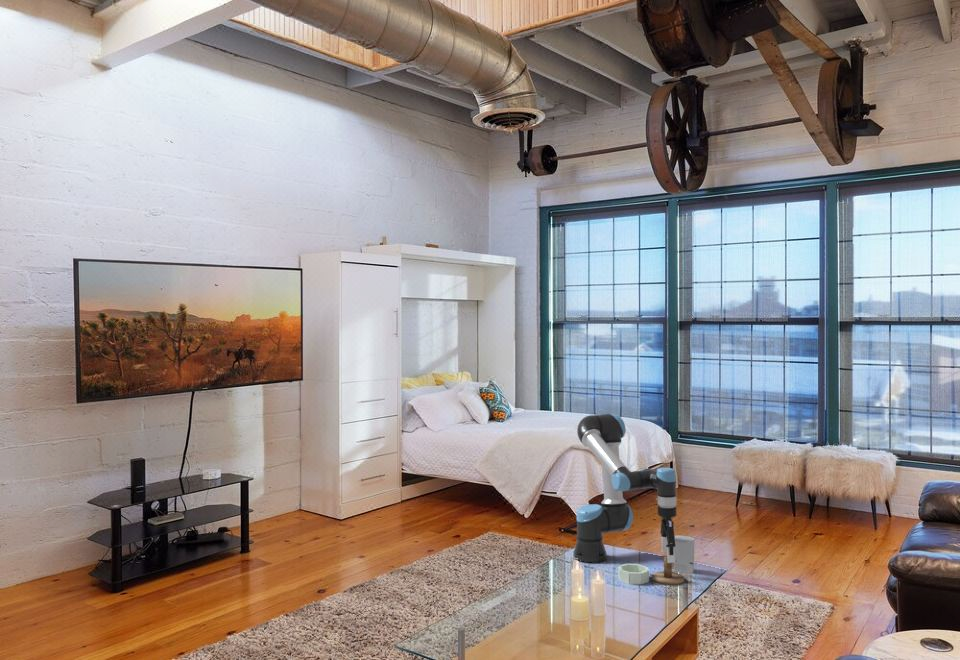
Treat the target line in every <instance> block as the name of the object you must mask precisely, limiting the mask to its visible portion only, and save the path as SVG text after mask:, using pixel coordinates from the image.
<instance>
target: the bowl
mask: <svg viewBox="0 0 960 660" xmlns="http://www.w3.org/2000/svg"><path fill="white" fill-rule="evenodd" d="M617 576H618V580H619V582H621V583H624V584H627V585H644V584H647V583H649V582H650V569H649V567H648V566H645V565H643V564H639V563H624V564H621V565H618V575H617Z"/></svg>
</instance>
